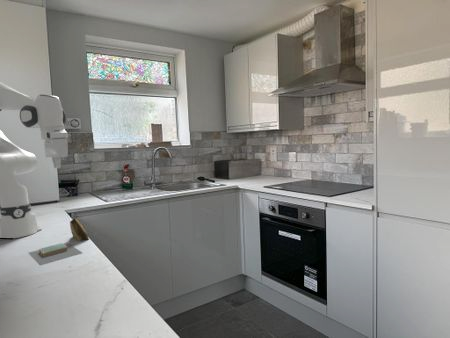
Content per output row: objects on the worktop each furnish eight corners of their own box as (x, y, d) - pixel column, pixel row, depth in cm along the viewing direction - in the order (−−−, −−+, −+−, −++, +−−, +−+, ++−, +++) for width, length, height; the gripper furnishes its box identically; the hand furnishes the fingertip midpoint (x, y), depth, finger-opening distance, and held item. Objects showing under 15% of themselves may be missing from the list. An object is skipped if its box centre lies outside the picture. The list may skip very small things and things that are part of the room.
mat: (28, 253, 122) (28, 252, 122) (67, 243, 131) (67, 242, 131) (40, 266, 108) (40, 265, 108) (82, 254, 117) (82, 252, 117)
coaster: (38, 248, 121) (43, 253, 116) (61, 243, 126) (66, 246, 121) (39, 252, 121) (44, 256, 116) (62, 246, 126) (67, 250, 121)
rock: (66, 232, 140) (60, 235, 130) (77, 215, 141) (72, 217, 132) (88, 244, 142) (84, 248, 132) (99, 227, 143) (96, 230, 134)
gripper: (38, 136, 136) (42, 168, 137) (51, 133, 121) (56, 169, 122) (54, 135, 140) (58, 166, 141) (69, 132, 125) (73, 167, 126)
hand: (57, 168), depth 132 cm, fingers closed
